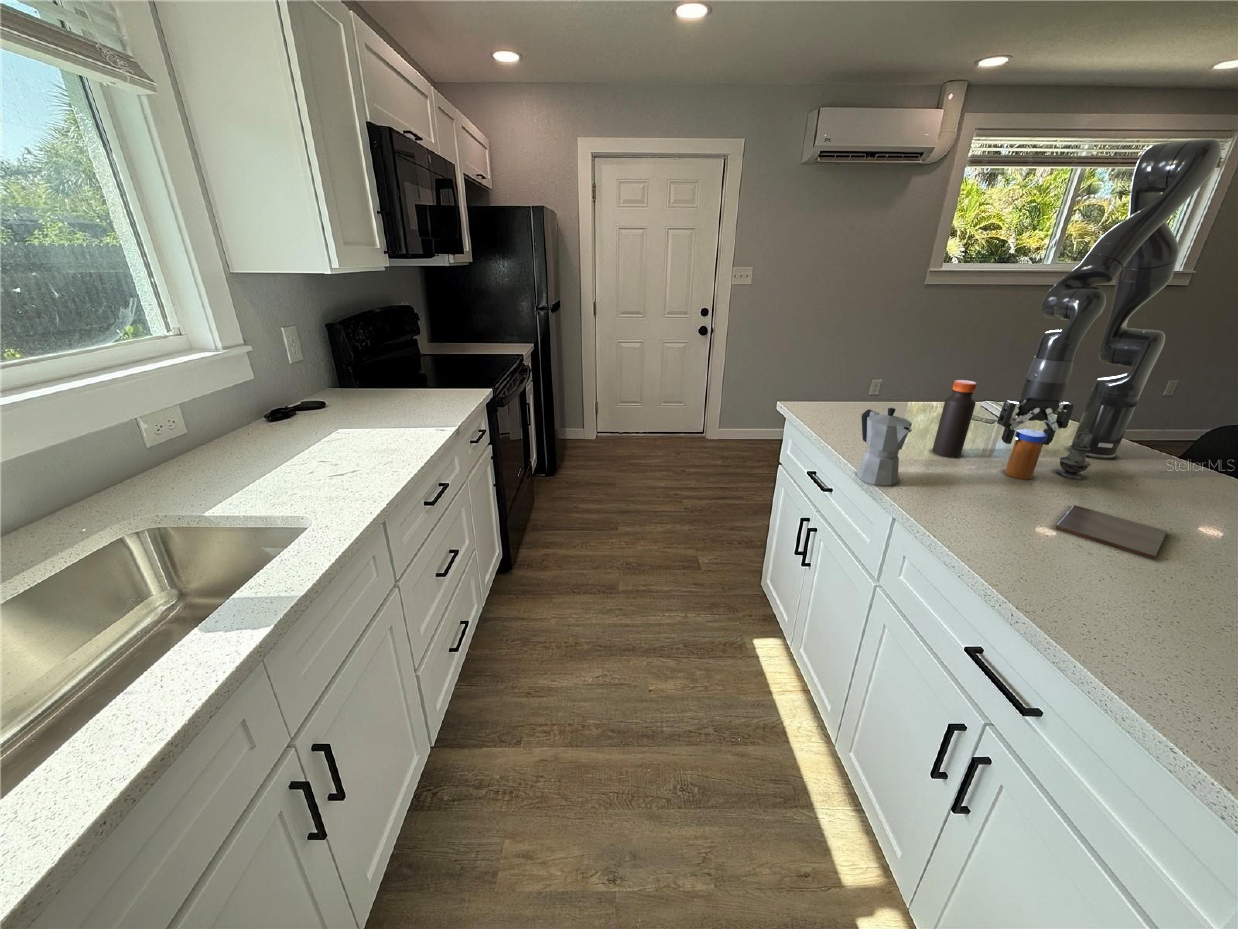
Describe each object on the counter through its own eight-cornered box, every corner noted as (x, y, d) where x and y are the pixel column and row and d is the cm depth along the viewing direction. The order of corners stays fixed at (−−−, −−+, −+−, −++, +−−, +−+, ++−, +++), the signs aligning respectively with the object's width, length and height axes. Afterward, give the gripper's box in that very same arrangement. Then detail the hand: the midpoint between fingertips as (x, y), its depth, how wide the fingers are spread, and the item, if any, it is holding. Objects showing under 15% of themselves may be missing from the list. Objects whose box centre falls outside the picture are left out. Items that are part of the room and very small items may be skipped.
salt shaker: (1091, 480, 119) (1110, 433, 114) (1063, 478, 120) (1081, 432, 115) (1075, 470, 124) (1093, 425, 119) (1049, 468, 125) (1065, 424, 120)
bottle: (934, 455, 134) (953, 384, 126) (930, 447, 140) (947, 378, 132) (963, 459, 131) (984, 386, 124) (957, 450, 137) (977, 380, 129)
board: (1072, 508, 106) (1074, 504, 105) (1165, 534, 96) (1167, 530, 95) (1055, 528, 98) (1056, 525, 97) (1153, 559, 88) (1155, 556, 87)
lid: (1049, 439, 118) (1051, 433, 117) (1040, 444, 115) (1042, 438, 114) (1021, 433, 122) (1022, 427, 121) (1011, 437, 119) (1013, 431, 118)
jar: (1008, 468, 125) (1021, 431, 121) (1034, 475, 122) (1048, 436, 118) (1001, 474, 122) (1014, 435, 118) (1027, 481, 118) (1041, 441, 115)
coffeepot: (913, 487, 115) (931, 414, 108) (878, 491, 114) (895, 417, 107) (868, 463, 129) (882, 396, 122) (837, 466, 127) (849, 399, 120)
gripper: (1068, 374, 116) (1046, 439, 122) (1004, 373, 117) (985, 437, 124) (1093, 382, 109) (1068, 450, 115) (1024, 381, 110) (1003, 448, 117)
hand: (1025, 443), depth 119 cm, fingers open, 8 cm apart
